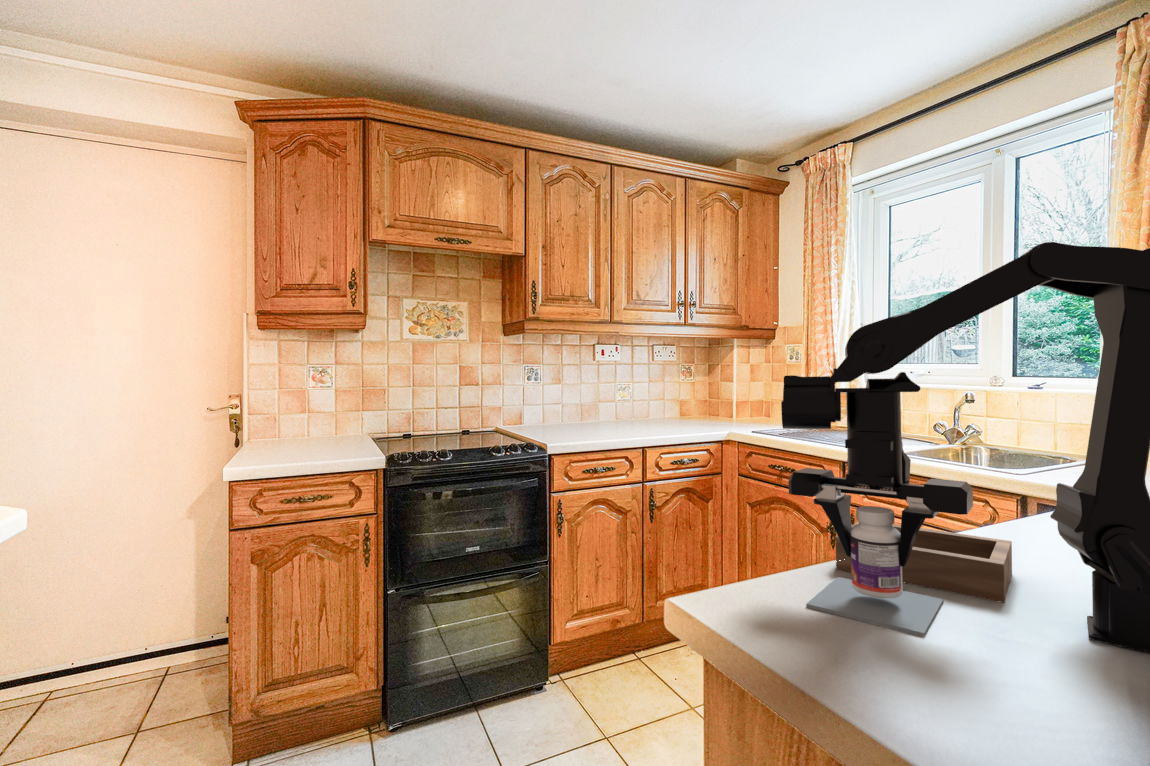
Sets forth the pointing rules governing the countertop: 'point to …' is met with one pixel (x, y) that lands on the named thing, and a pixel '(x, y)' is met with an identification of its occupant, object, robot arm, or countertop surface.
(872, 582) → the pill bottle
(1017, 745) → the countertop surface
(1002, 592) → the slot box
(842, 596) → the mat
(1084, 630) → the countertop surface
